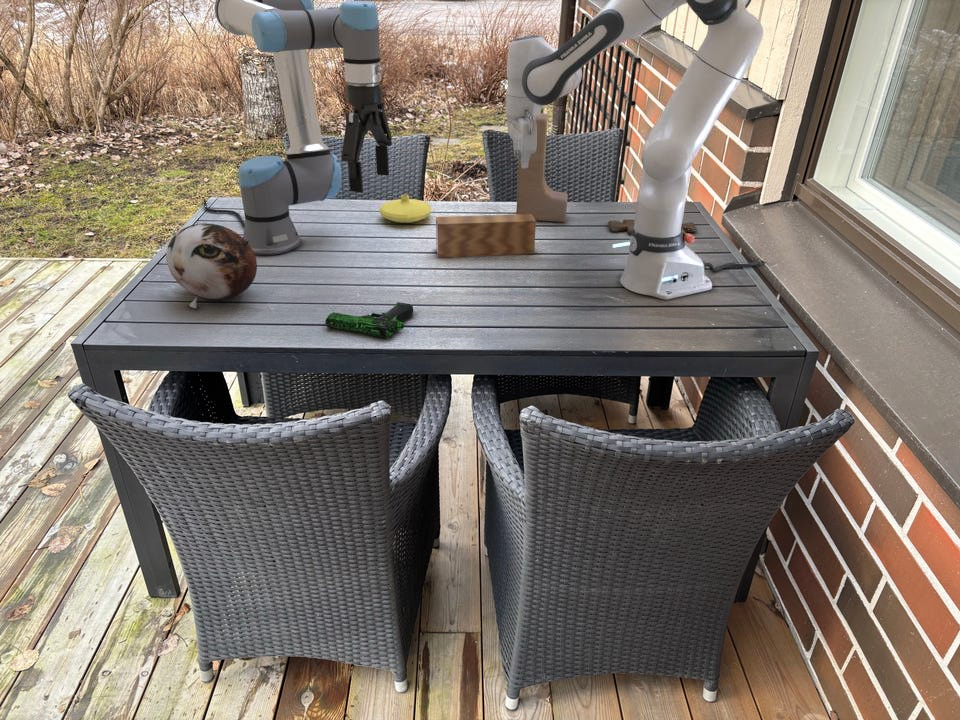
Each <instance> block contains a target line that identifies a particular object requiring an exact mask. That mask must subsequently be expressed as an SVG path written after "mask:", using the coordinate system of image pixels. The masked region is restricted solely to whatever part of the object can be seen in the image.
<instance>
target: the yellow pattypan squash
mask: <svg viewBox="0 0 960 720" xmlns="http://www.w3.org/2000/svg"><path fill="white" fill-rule="evenodd" d="M432 209H433V208H432V206H431V205H430V204H429V203H428V202H426V201H423V200H420V199H413V198H410V196H409V195H408V194H402V195H401V196H400V199H399V198H398V199H392V200H389V201H387V202H384V203H383V204H381V206H380V207H379V209H378V211H379V213H380V216H381V217H383V218H384V219H387V220H389V221H392V222H395V223H401V224H408V223H409V224H411V223H416V222H419V221H422V220H424V219H426V218H428V217H429V216H430V215H431V213H432Z"/></svg>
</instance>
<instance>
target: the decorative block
mask: <svg viewBox="0 0 960 720" xmlns="http://www.w3.org/2000/svg"><path fill="white" fill-rule="evenodd" d="M548 120H549V116H548V114H547V113H541V114H540V115H539V116H536V117H535V121H536V124H537V148H536V152H535V153H533V154H530V159H529V164H528V168H522V167H521V165H520V164H521V158H518V159H517V161H518V163H517V183H516V185H517V186H516V188H517V189H516V210H515V211H516V212H515V214H532V215H533V217H534V219H535V220H536V221H539V222H541V221H542V222H555V223H556V222H557V223H565V222H566V220H567V212H568V211H567V209H568V194H567V193H566V192H561V191H557V190H553V189H552V188H551V187H550V186H548V183H547V180H546V176H545V171H546V170H545V169H546V156H547V155H546V154H547V153H546V152H547V138H548V122H549V121H548ZM521 156H522V154H521Z"/></svg>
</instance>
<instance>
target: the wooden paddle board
mask: <svg viewBox="0 0 960 720" xmlns="http://www.w3.org/2000/svg"><path fill="white" fill-rule="evenodd" d="M634 221H635V219H623V220H622V222H621V221H619V220H615V219H614V220H608V221H607V224H608V229H609V231H610V232H613V233H615V232H616V233H617V232H623V231H627V234H629V235H631V231H632V227H633V226H634ZM682 228H683V229H682ZM688 229H689V230H688ZM681 230H683V231H684V232H685V233H696V231H697V228H696V224H695V223H694V222H691V221H690V222H682V226H681ZM693 230H696V231H693Z"/></svg>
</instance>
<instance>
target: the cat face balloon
mask: <svg viewBox="0 0 960 720" xmlns="http://www.w3.org/2000/svg"><path fill="white" fill-rule="evenodd" d="M248 242H249V241H246V240H245V239H244V238H243V236H242V235H240V234H239V233H238V232H236V231H234V230H233V229H231V228H229V227H226V226H223V225H220V224H215V223H205V222H204V223H195V224H191V225H188V226H186V227H183V228H182V229H180V230H179V231H177V232H176V233H175V234H174V235H173V237H171V239H170V241H169V243H168V245H167V248H166V254H165V260H166V265H167V268H168V271H169V273H170V275H171V276H172V277H173V279H174V280H175V281H176V282H177V284H178V285H180V286H181V287H182V288H183V289H185V290H186V291H187V292H189V293H191V294H194V295H195V298H194V299H193V300H192V302H190V303H189V304H188V306H189V307H191V308H192V309H197V308H198V307H197V298H198V297H201V298H205V299H210V300H226V299H230V298H233V297H236V296H238V295H241V294H242V293H244V292H245V291H247V290H248V289H249V288H250V286H251V285H252V284H253V282H254V280H255V278H256V275H257V271H258V262H257V257H256V254H254V252H253V250H252V248H251V247H250V245H249V244H248Z"/></svg>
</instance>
